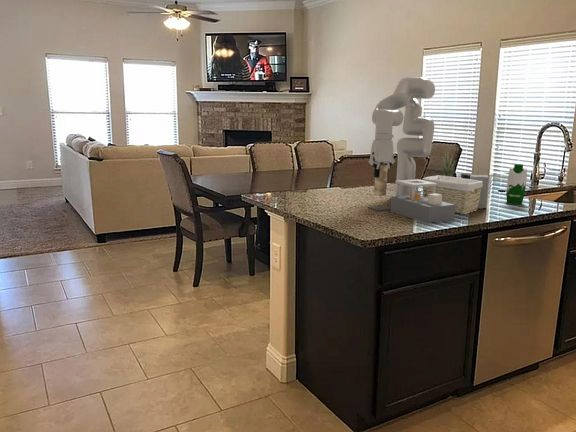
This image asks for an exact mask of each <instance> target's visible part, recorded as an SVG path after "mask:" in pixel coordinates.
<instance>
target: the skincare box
mask: <svg viewBox="0 0 576 432" xmlns="http://www.w3.org/2000/svg"><path fill="white" fill-rule="evenodd" d="M470 179H472V180H478V181H482V182H483V186H482V188H481V192H480V198H479V203H478V208H477V209H483V208H486V209H487V200H488V183H489V175H488V174H479V175H470ZM476 204H477V203H476Z"/></svg>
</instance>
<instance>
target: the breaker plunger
mask: <svg viewBox="0 0 576 432" xmlns="http://www.w3.org/2000/svg"><path fill="white" fill-rule="evenodd" d="M421 194H422V193H420V194H417V193H415V199H414V200H420V197H421V196H422V195H421ZM409 199H411V200H412V193H410V197H409Z"/></svg>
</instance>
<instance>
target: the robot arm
mask: <svg viewBox="0 0 576 432" xmlns="http://www.w3.org/2000/svg"><path fill="white" fill-rule="evenodd" d="M435 93H436V86H435V83H434V82H433V81H432V80H430V79H428V77H427V78H426V77H424V76H423V77H422V76H409V77H408V76H407V77H403V78H401V79H400V81H399V82H398V84H397V85H396V87H395V89H394V91H393V93H392V94H390V95H388V96H387V97H385V98H383V99H382V100H380V101H379V102H378V103H377V104H376V106H375V108H374V110H373V112H372V114H371V122H373V124H374V125H375V129H374V130H375V133H374V139H373V141H372V144H371V148H370V158H369V160H368V163H369V164H370V165H371V166H372V167H373V170H374V173H373V175H374V176H373V177H374V178H375V177H376V178H379V174H380V169H379V165H381V163H383V165H388V170H390V169H391V167H392V165H394V163H395V162H396V160H395V158H394V142H393V140H392V139H393V138H394V136H395V135H394V134H393V127H397V126H400V125H401V124H402V123H403V124H402V133H403V134H405V135H407V136H413V137H401V138H400V139H398V141H397V143H396V153H397V154H396V155H397V166H396V167H397V168H396V180H395V181H397V180H415V179H416V171H417V170H416V169H417V165H416V161H415V159H414V158H413V157H417V158H428V157H429V156H430V155H431V151H432V147H433V139H434V133H435V121H434V120H433V119H432V118H431V117H424V116H423V117H422V112H423V107H422V105H421V104H420V102H419V100H418V99H421V100H422V99H432V98H433V96H434V95H435ZM401 108H404V114H403V112H402V111H401V110H399V109H401ZM414 136H415V137H414ZM387 178H389V171H388V172H387ZM396 185H397V183H395V186H396ZM410 193H412V187H411V186H407V185H403V184H399V196H404V195H410ZM415 193H416V188H415ZM418 194H422V190H421V189H419V190H418ZM392 196H396V193H393V194H392Z"/></svg>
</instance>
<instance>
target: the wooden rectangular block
mask: <svg viewBox="0 0 576 432" xmlns="http://www.w3.org/2000/svg"><path fill="white" fill-rule="evenodd" d="M379 169H380V174H379V178H376V177H374V188H373V195H374V196H378V197H382V196H387V189H388V188H387V187H388V186H387V185H388V177H387V172H388V173H389V169H388V165H384V164H380V165H379Z"/></svg>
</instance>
